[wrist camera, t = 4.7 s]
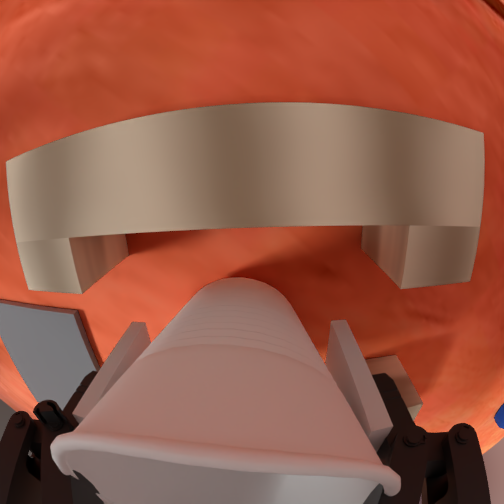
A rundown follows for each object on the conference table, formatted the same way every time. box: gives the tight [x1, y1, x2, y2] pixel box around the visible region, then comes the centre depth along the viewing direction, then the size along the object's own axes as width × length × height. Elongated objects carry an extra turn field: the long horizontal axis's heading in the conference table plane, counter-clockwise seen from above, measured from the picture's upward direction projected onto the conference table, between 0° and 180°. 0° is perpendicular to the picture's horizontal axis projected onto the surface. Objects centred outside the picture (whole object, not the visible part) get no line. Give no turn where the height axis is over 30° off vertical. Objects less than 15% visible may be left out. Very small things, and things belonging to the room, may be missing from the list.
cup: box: [50, 277, 401, 504], centre depth 10 cm, size 10×10×11 cm
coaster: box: [0, 299, 100, 411], centre depth 18 cm, size 14×14×1 cm
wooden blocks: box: [6, 102, 485, 421], centre depth 13 cm, size 21×21×5 cm
